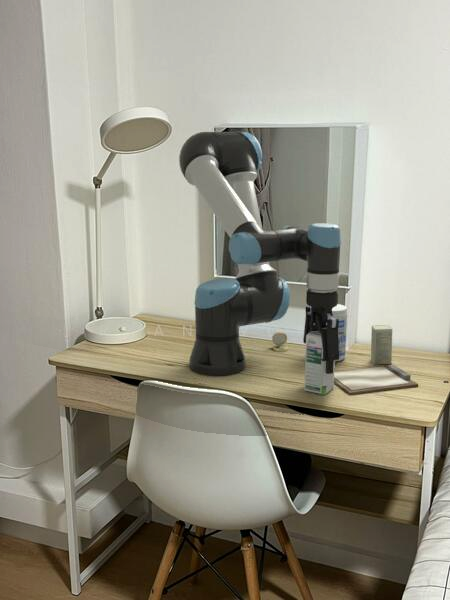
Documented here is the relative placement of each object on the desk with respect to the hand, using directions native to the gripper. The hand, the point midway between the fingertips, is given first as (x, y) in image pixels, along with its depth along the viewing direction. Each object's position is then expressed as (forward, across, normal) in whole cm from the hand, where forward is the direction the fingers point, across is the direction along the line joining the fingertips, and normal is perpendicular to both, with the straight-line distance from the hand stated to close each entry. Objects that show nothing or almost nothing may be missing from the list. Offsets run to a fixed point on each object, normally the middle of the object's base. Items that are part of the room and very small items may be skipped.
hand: (319, 379), depth 172 cm
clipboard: (+3, +2, -15) cm, 15 cm away
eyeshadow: (+3, +33, -3) cm, 33 cm away
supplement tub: (+3, +22, -13) cm, 26 cm away
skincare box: (+3, +14, -25) cm, 29 cm away
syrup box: (+3, 0, 0) cm, 3 cm away
